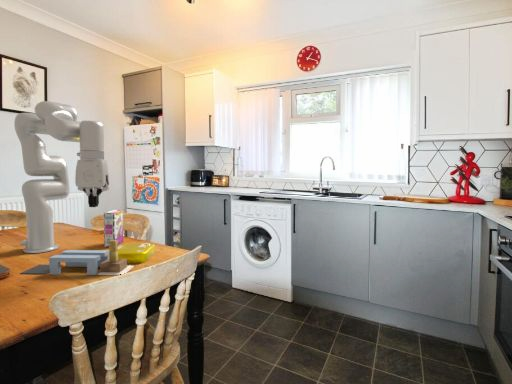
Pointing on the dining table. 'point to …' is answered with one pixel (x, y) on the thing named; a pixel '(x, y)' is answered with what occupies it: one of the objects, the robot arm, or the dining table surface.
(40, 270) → the pad
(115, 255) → the tan boxy piece
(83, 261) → the tunnel
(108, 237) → the candy bar box
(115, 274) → the tile
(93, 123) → the robot arm
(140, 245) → the element tile
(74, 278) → the dining table surface
